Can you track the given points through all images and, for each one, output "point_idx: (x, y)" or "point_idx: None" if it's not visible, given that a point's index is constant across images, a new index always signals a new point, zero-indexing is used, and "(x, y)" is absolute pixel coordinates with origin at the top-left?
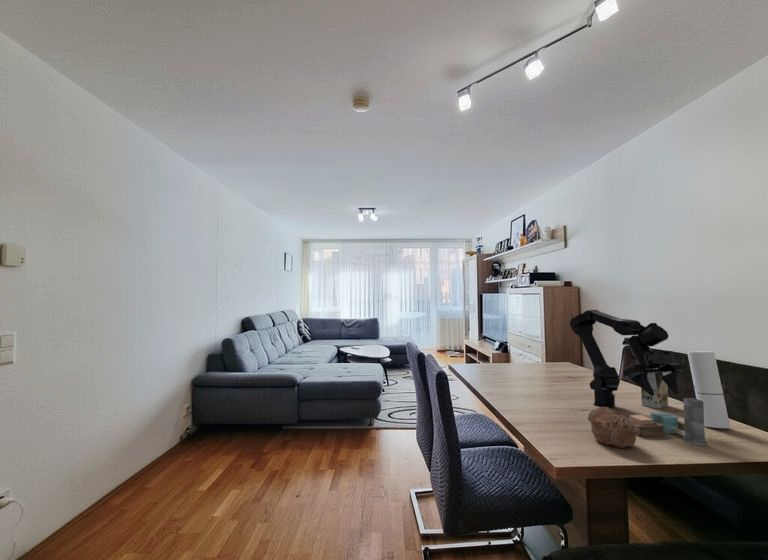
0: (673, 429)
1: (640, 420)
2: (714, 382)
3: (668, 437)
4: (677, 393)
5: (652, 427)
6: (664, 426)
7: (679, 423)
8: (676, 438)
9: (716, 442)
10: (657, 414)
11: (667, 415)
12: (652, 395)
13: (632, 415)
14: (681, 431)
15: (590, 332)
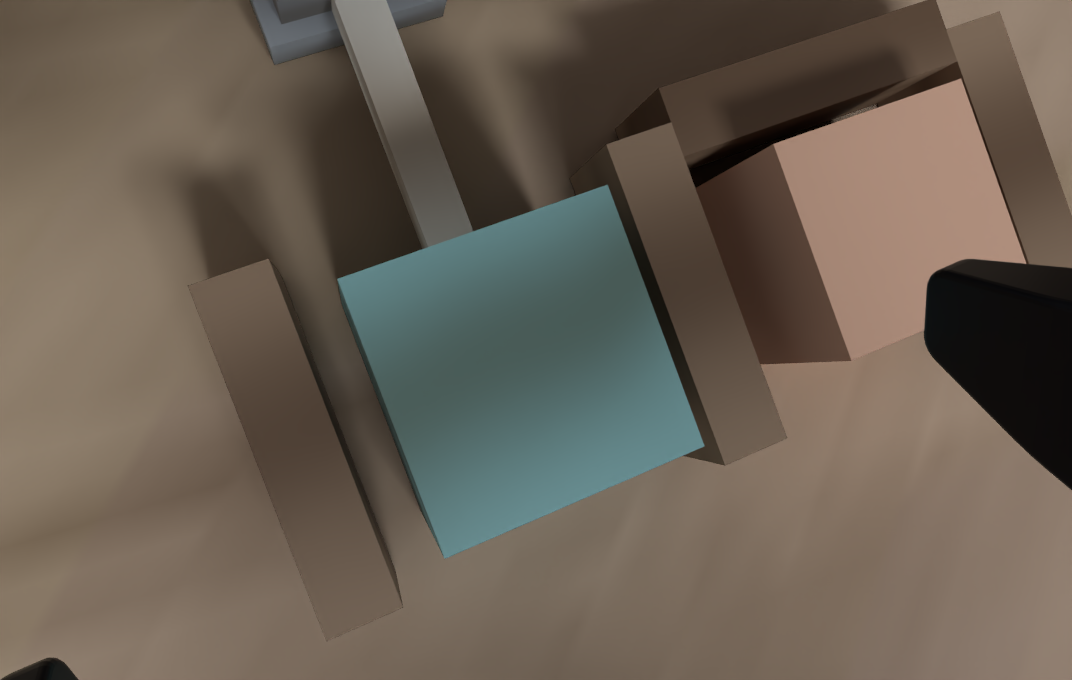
0: (457, 197)
1: (958, 88)
2: None
3: (573, 83)
4: (48, 660)
5: (798, 45)
6: (601, 150)
7: (297, 331)
8: (489, 67)
9: (3, 21)
10: (633, 362)
11: (481, 342)
12: (951, 300)
13: None
14: (413, 73)
15: None
